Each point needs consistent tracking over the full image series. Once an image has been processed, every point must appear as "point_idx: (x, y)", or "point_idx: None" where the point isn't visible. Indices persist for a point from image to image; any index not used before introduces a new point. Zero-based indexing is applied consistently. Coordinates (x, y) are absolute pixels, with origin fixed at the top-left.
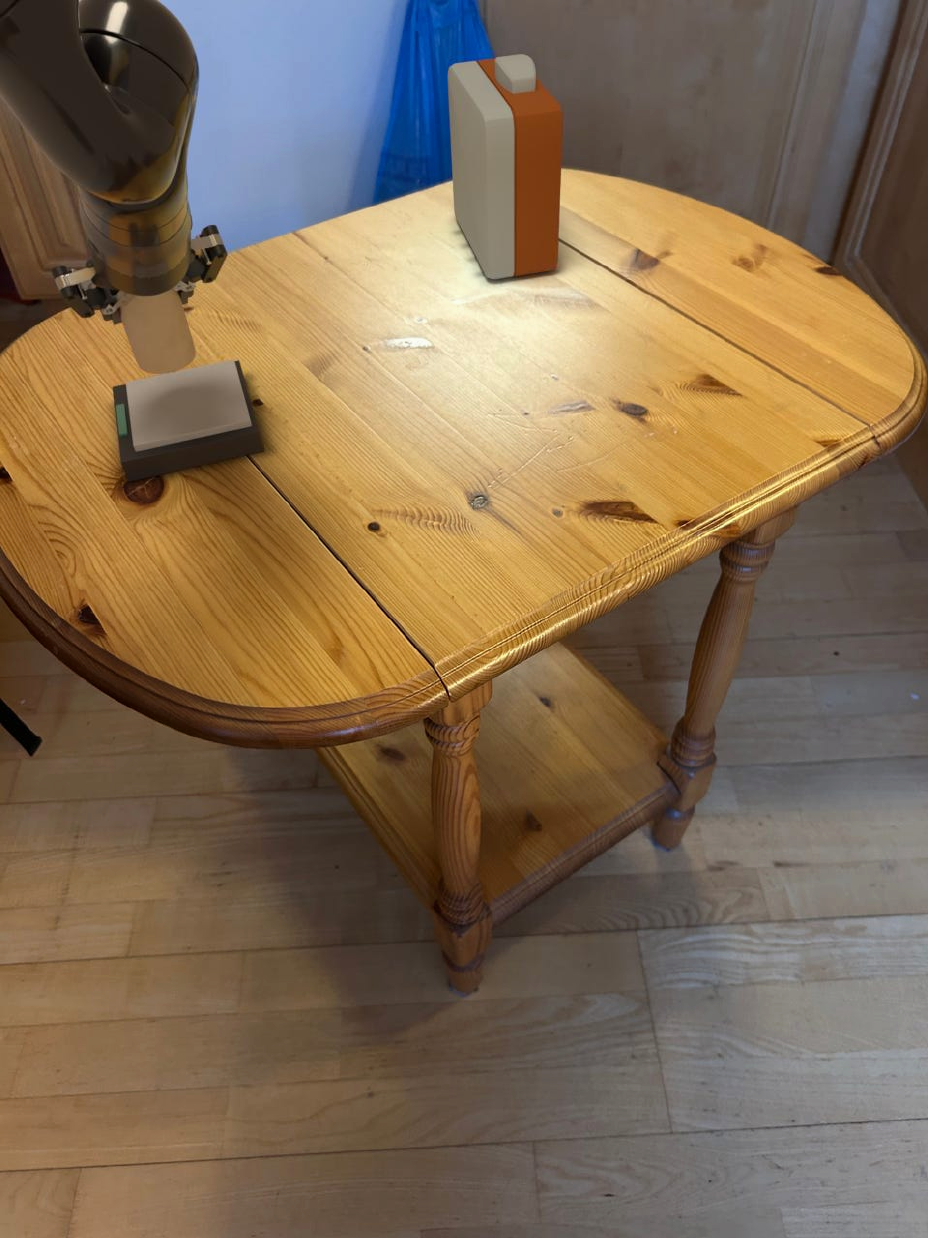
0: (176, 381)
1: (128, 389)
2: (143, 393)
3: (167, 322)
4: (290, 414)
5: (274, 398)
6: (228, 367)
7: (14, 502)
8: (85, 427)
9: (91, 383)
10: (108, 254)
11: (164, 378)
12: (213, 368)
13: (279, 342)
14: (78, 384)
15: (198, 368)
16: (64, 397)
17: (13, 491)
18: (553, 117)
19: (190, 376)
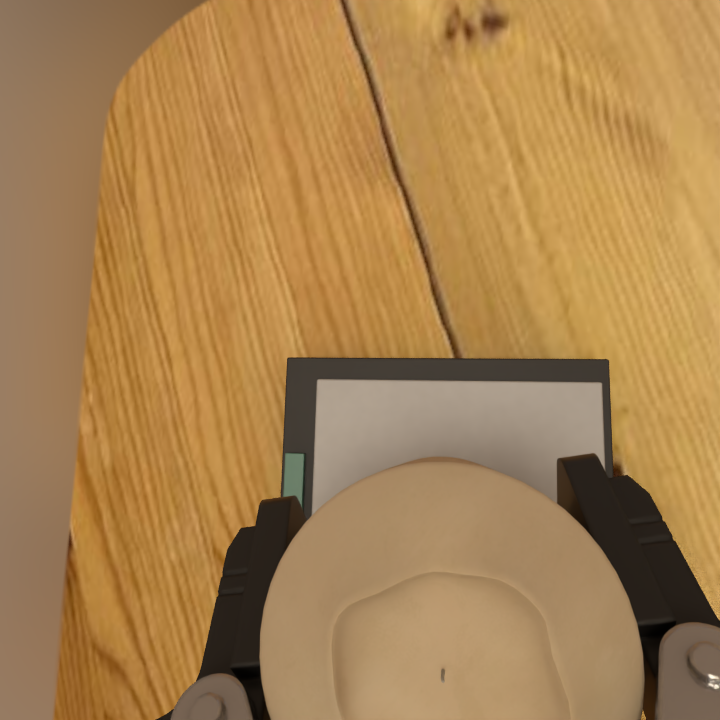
0: (439, 429)
1: (320, 417)
2: (353, 449)
3: None
4: (690, 562)
5: (658, 476)
6: (582, 416)
7: (68, 622)
8: (223, 416)
9: (251, 254)
10: None
11: (411, 401)
12: (541, 405)
13: (704, 236)
14: (225, 248)
15: (502, 390)
16: (194, 287)
17: (70, 583)
18: None
19: (477, 420)
